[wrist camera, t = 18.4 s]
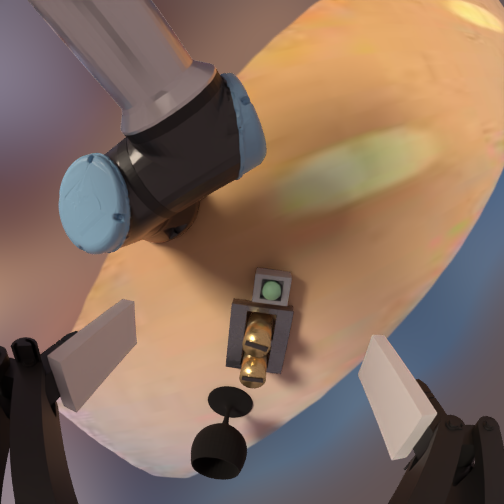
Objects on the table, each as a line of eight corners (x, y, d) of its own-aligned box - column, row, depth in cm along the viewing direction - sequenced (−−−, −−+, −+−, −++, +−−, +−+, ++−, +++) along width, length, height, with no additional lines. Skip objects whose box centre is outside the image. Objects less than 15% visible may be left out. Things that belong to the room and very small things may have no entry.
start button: (261, 294, 47) (261, 299, 45) (264, 278, 46) (263, 282, 44) (279, 297, 46) (279, 301, 44) (281, 280, 46) (282, 284, 44)
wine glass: (247, 383, 54) (235, 454, 34) (256, 415, 56) (250, 481, 36) (202, 387, 55) (178, 452, 36) (215, 417, 57) (198, 480, 37)
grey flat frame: (227, 359, 53) (225, 366, 50) (233, 298, 50) (231, 303, 48) (280, 366, 52) (280, 373, 50) (292, 306, 50) (293, 311, 47)
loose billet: (244, 356, 52) (238, 387, 42) (246, 338, 52) (240, 367, 42) (265, 359, 52) (263, 390, 42) (268, 341, 51) (267, 371, 41)
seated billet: (246, 326, 51) (238, 353, 41) (253, 306, 50) (247, 330, 40) (267, 333, 51) (264, 361, 41) (275, 314, 50) (274, 339, 40)
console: (253, 293, 50) (252, 301, 46) (257, 267, 49) (255, 273, 45) (286, 297, 49) (287, 306, 45) (290, 271, 48) (291, 278, 44)
